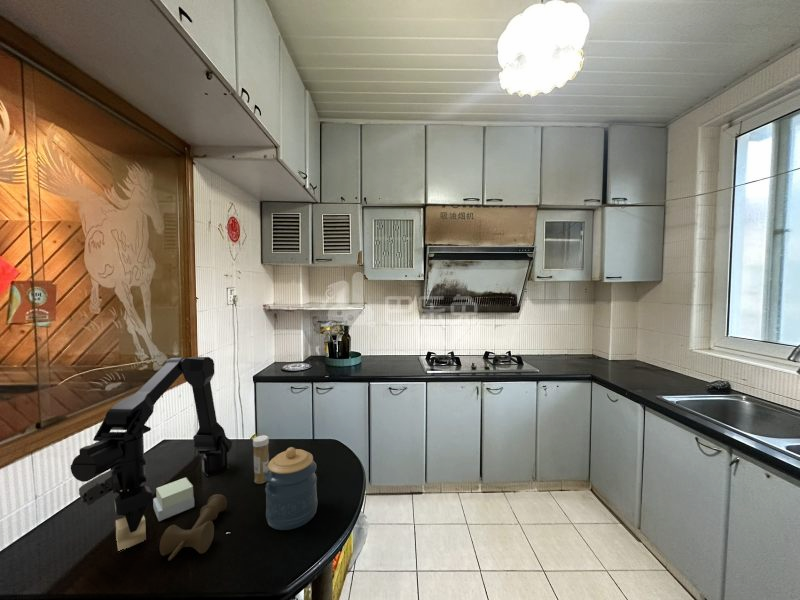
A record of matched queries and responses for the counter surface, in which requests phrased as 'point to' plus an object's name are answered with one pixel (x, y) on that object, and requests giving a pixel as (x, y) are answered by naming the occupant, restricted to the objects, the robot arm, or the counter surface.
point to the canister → (290, 489)
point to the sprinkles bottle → (260, 458)
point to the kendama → (194, 530)
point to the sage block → (174, 493)
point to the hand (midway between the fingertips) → (130, 521)
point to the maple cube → (129, 533)
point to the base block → (171, 508)
